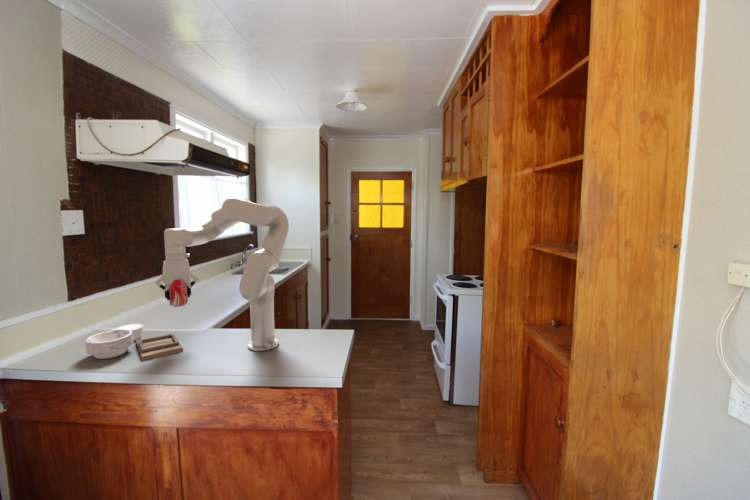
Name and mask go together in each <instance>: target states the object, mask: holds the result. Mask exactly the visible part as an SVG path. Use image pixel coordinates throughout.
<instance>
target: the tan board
mask: <svg viewBox="0 0 750 500" xmlns="http://www.w3.org/2000/svg"><path fill="white" fill-rule="evenodd" d="M168 334H169V333H166V334H165V335H168ZM170 334H174V333H173V332H172V333H170ZM163 335H164V334H161V335H160V336H163ZM158 336H159V335H156V336H155V337H158ZM153 337H154V336H153ZM153 337H152V336H151V337H150V338H153ZM148 338H149V337H147V338H139V339H137V340H135V341H136V343H135V344H136V347H137V349H138V352H139V355H140V358H141V361H146V360H151V359H154V358H160V357H164V356H168V355H173V354H177V353H182V352H184V348H183V345H182V344H181V342H179V345H176V346H171V347H167V348H162V349H157V350H153V351H148V352H144V353H142V351H141V348H140V345H139V340H143V339H148ZM173 342H174V341H173V339H172V337H170V338H165V339H160V340H155V341H150V342H145V343H143V345H144V348H149V347H154V346H159V345H164V344H168V343H173Z"/></svg>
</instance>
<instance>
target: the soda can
mask: <svg viewBox="0 0 750 500" xmlns="http://www.w3.org/2000/svg"><path fill="white" fill-rule="evenodd" d="M168 290H169V298H170V300H168V301H169V306H171V307H173V308H177V307H185V306H186V304H188V302H189V297H188V292H187V283H186V282H185V281H184V280H183V278H182V279H174V281H173V282H172V283H171V284H170V286H169V288H168Z"/></svg>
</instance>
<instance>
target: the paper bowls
mask: <svg viewBox="0 0 750 500" xmlns="http://www.w3.org/2000/svg"><path fill="white" fill-rule="evenodd" d="M133 344H134V341H133V332H132V331H131V330H126V329H120V330H114V329H112V330H107V331H103V332H99V333H96V334H93V335H91V336H88V337H87V338H86V339H85V341H84V345H85V351H86V354H88V355H92V356H93V357H94V358H96V359H100V360H101V359H102V360H106V359H107V360H108V359H112V358H116V357H119V356H122V355H124V354H125V353H126V352H127V351H128V349H129V348H130V347H131V346H132V345H133Z"/></svg>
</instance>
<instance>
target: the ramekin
mask: <svg viewBox="0 0 750 500" xmlns="http://www.w3.org/2000/svg"><path fill="white" fill-rule="evenodd" d="M120 329H126V330H131V331H132V332H133V342H134V341H136V340H140V339H142V336H143V332H144V331H143V330H144V324H142V323H129V324H125V325H120V326H117V327H115V328H114V329H113V330H120Z"/></svg>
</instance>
